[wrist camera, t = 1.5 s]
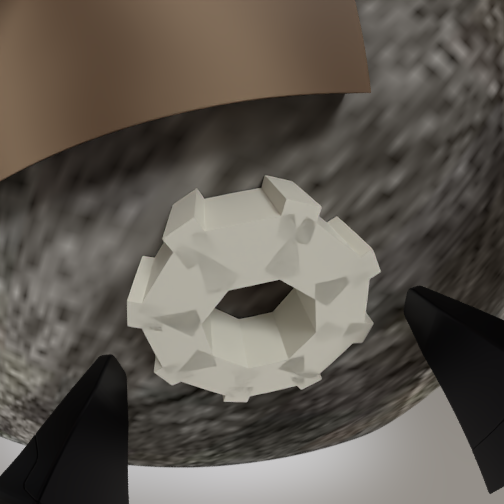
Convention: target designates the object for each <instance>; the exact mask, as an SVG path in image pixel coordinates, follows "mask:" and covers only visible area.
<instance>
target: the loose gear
mask: <svg viewBox="0 0 504 504" xmlns="http://www.w3.org/2000/svg"><path fill="white" fill-rule="evenodd" d="M321 208H322V207H321V206H320V205H319V204H318V203H317V202H316V201H315V200H313V199H312V198H311V197H310V196H309V195H308V194H307V193H305V192H304V191H303V190H302V189H301V188H300V187H298V186H297V185H296V184H295V183H294V182H292V181H289V180H285V179H281V178H276V177H272V176H267V175H265V176H264V179H263V183H262V187H261V188H257V189H252V190H246V191H241V192H236V193H231V194H226V195H221V196H216V197H211V198H206V199H204V197H203V196H202V195H201V193H200V192H199V190H198V189H197V188H196V189H195V190H193V191H192V192H190V193H189V194H187V195H186V196H185V197H183V198H182V199H180V200H179V201H177V202H176V203H175V204H173V206H172V209H171V212H170V215H169V218H168V222H167V225H166V228H165V231H164V235H163V238H162V239H163V241H164V243H163V244H162V246H161V248H160V249H159V251H158V253H157V254H156V256H155V258H154V257H147V256H142V259H141V262H140V264H139V267H138V270H137V273H136V276H135V279H134V282H133V285H132V287H131V290H130V294H129V297H128V300H127V324H128V326H129V327H135V328H142V330H143V332H144V334H145V336H146V338H147V340H148V342H149V343H150V345H151V347H152V349H153V351H154V353H155V355H156V357H155V366H154V373H156V374H157V375H158V376H160V377H161V378H162V379H164V380H165V381H167V382H168V383H169V384H171V385H175V384H177V383H179V382H184V383H187V384H190V385H193V386H196V387H199V388H202V389H205V390H208V391H212V392H215V393H218V394H222V395H223V401H224V402H247V401H248V399H249V397H250V396H254V395H259V394H263V393H268V392H272V391H277V390H281V389H285V388H289V387H293V386H298V387H299V388H300V389H301V390H302V389H304V388H306V387H308V386H310V385H312V384H314V383H316V382H318V381H320V380H322V377H321V375H320V373H321V372H322V371H323V370H324V369H325V368H326V367H328V366H329V365H330V364H331V363H332V362H333V361H334V360H335V359H336V358H338V357H339V356H340V355H341V354H342V353H343V352H344V351H345V350H346V349H347V348H348V347H349V346H350V345H351V344H353V343H363V341H364V339H365V338H366V336H367V334H368V332H369V331H370V329H371V327H372V326H373V324H374V323H373V322H372V320H371V319H370V317H369V316H368V314H367V313H366V306H367V298H368V289H369V279H371V278H372V277H374V276H375V275H377V274H378V273H380V272H381V271H380V268H379V265H378V262H377V259H376V256H375V254H374V251H373V249H372V248H371V247H370V246H369V245H368V244H367V243H366V242H365V241H364V240H363V239H361V238H360V237H359V236H358V235H357V234H356V233H355V232H354V231H353V230H352V229H351V228H349V227H348V226H347V225H346V224H345V223H344V222H343V221H342V220H341V219H339V218H338V217H337V216H336V217H335V218H333V219H331V220H330V221H328V222H326V221H324V220H323V219H322V218H321V217H319V214H320V211H321ZM276 280H281V281H283V282H285V283H287V284H288V285H290V286H292V287H294V288H293V290H292V291H291V292H290V293H289V294H288V295H287V296H286V297H285V299H284V300H283V301H282V302H281V303H280V304H279V305H278V306H277V308H276V309H275V310H274V311H273V312H270V313H266V314H261V315H256V316H252V317H247V318H242V319H237V318H235V317H233V316H231V315H229V314H227V313H224V312H222V311H220V310H218V309H216V308H215V307H216V306H217V304H218V303H219V302H220V301H221V299H222V298H223V297H224V296H225V294H226V293H227V292H228V291H229V290H233V289H238V288H243V287H248V286H253V285H257V284H262V283H266V282H271V281H276Z"/></svg>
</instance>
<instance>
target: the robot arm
mask: <svg viewBox="0 0 504 504" xmlns="http://www.w3.org/2000/svg"><path fill="white" fill-rule="evenodd" d="M404 315H405V317H406V320H407V322H408V324H409V326H410V328H411V330H412V332H413V334H414V336H415V338H416V341H417V343H418V345H419V347H420V349H421V351H422V353H423V355H424V357H425V359H426V361H427V362H428V364H429V366H430V368H431V369H432V371H433V373H434V375H435V376H436V378H437V380H438V382H439V384H440V386H441V387H442V389H443V391H444V393H445V395H446V397H447V399H448V401H449V403H450V405H451V407H452V408H453V411H454V412H455V414H456V416H457V419H458V421H459V423H460V425H461V427H462V429H463V431H464V433H465V436H466V438H467V440H468V442H469V444H470V447H471V449H472V451H473V454H474V456H475V459H476V461H477V463H478V466H479V468H480V471H481V473H482V476H483V478H484V481H485V484H486V486H487V489H488V492H489V493H490V494H491V493H493V492H495V491H497V490H499V489H500V488H502V487H504V320H502V319H500V318H497V317H495V316H493V315H490V314H488V313H486V312H483V311H481V310H479V309H476V308H474V307H472V306H469V305H467V304H464V303H462V302H460V301H457V300H455V299H452V298H450V297H447V296H445V295H443V294H440V293H438V292H435V291H433V290H430V289H428V288H425V287H423V286H415V287H413V288H410V289H409V290H408V291H407V296H406V300H405V305H404ZM0 504H129V496H128V402H127V378H126V374H125V371H124V370H123V368H122V367H121V365H120V364H119V362H118V361H117V359H116V358H115V357H114V356H113V355H111V354H109V355H101V356H99V357H98V359H97V360H96V361H95V362H94V363H93V364H92V366H91V367H90V368H89V369H88V370H87V371H86V373H85V374H84V375H83V376H82V377H81V378H80V380H79V381H78V382H77V383H76V384H75V386H74V387H73V388H72V389H71V390H70V392H69V393H68V394H67V395H66V396H65V398H64V399H63V400H62V401H61V403H60V404H59V405H58V406H57V408H56V409H55V410H54V411H53V412H52V414H51V415H50V416H49V417H48V419H47V420H46V421H45V423H44V424H43V425H42V426H41V428H40V429H39V430H38V431H37V433H36V435H34V436H33V438H32V439H31V440H30V442H29V443H28V444H27V446H26V447H25V448H24V449H23V451H22V452H21V453H20V455H19V456H18V457H17V458H16V459H15V460H14V461H13V462H12V464H11V465H10V466H9V467H8V468H7V469H6V470H5V471H4V472H3V474H2V475H1V476H0Z"/></svg>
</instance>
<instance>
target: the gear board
mask: <svg viewBox="0 0 504 504" xmlns="http://www.w3.org/2000/svg"><path fill="white" fill-rule="evenodd" d="M347 93H371V88H370V80H369V72H368V65H367V59H366V53H365V47H364V41H363V36H362V30H361V25H360V21H359V16H358V11H357V7H356V3H355V0H0V182H1V181H2V180H4V179H6V178H8V177H10V176H12V175H13V174H15V173H17V172H19V171H21V170H23V169H25V168H27V167H29V166H31V165H33V164H36V163H38V162H40V161H42V160H44V159H46V158H49V157H51V156H53V155H55V154H58V153H60V152H62V151H65V150H67V149H70V148H72V147H75V146H77V145H80V144H82V143H85V142H88V141H90V140H93V139H96V138H99V137H101V136H104V135H107V134H110V133H113V132H116V131H119V130H122V129H125V128H129V127H132V126H135V125H139V124H142V123H146V122H149V121H153V120H157V119H160V118H164V117H168V116H172V115H177V114H181V113H185V112H190V111H194V110H199V109H204V108H209V107H214V106H220V105H226V104H232V103H238V102H245V101H252V100H259V99H268V98H277V97H287V96H300V95H316V94H347Z"/></svg>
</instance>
